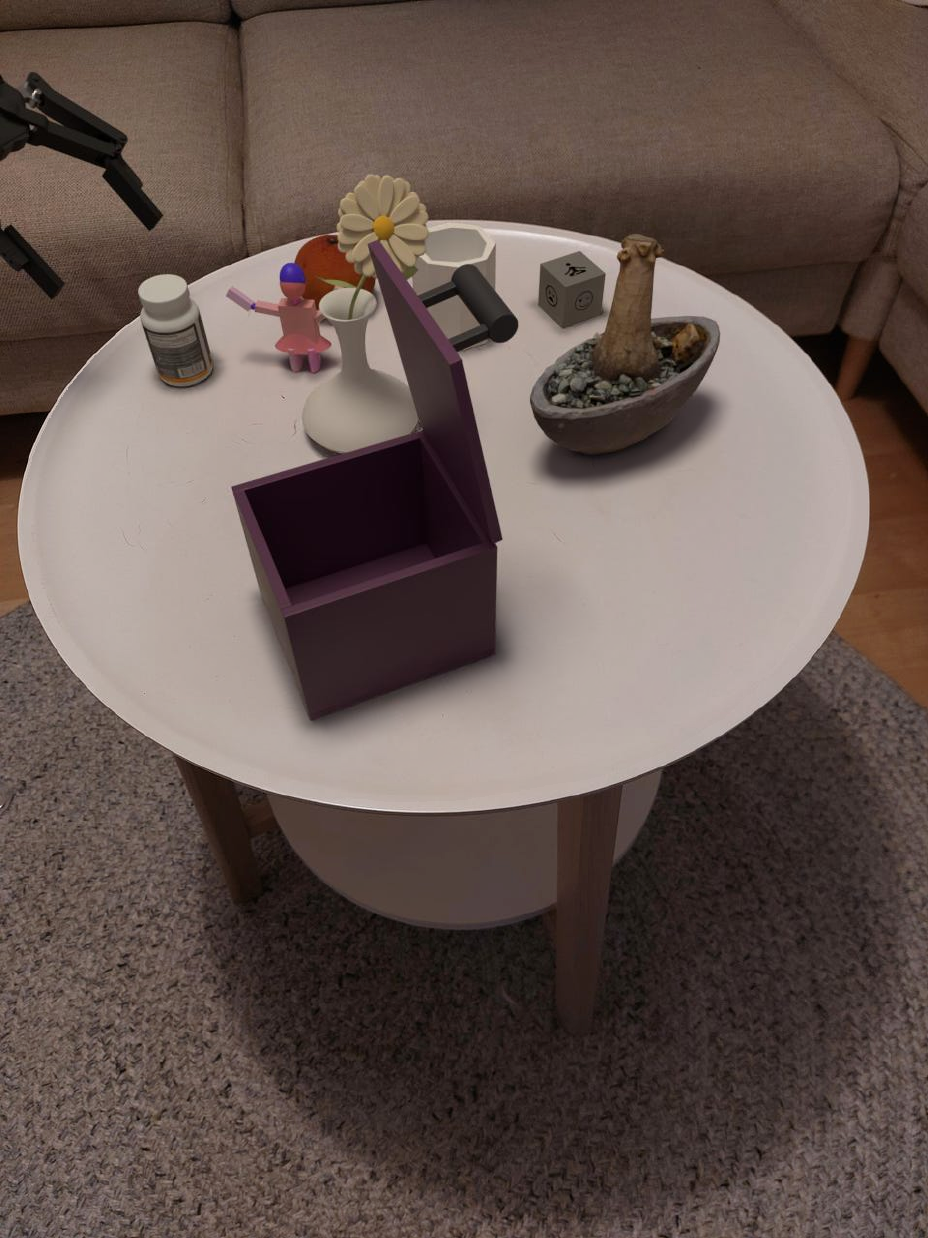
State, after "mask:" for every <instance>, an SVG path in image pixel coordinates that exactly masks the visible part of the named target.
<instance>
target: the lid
mask: <svg viewBox="0 0 928 1238" xmlns="http://www.w3.org/2000/svg"><path fill="white" fill-rule="evenodd" d="M368 248H369V252H370V255H371V258H372V262H373V265H374V269H375V272H376V275H377V278H376V280H377V282H378V285H379V289H380V292H381V296H382V299H383V303H384V306H385V310H386V312H387V316H388V320H389V323H390V326H391V329H392V333H393V336H394V340H395V344H396V347H397V350H398V354H399V358H400V360H401V364H402V367H403V371H404V374H405V377H406V381H407V386H408V387H409V388H410V392H411V395H412V399H413V402H414V405H415V409H416V412H417V416H418V423H419V427H420V428H421V430H423V431H424V433H425V434H426V436H427V438H428V439H429V441H430V443H431V444H432V446H433V447H434V449H435V451H436V452H437V454H438V456H439V457H440V459H441V461H442V462H443V464H444V465H445V467H446V469H447V470H448V472H449V474H450V475H451V477H452V479H453V480H454V482H455V483H456V485H457V487H458V488H459V490H460V492H461V493H462V495H463V497H464V498H465V500H466V501H467V503H468V505H469V506H470V508H471V510H472V511H473V513H474V515H475V516H476V518H477V519H478V521H479V523H480V524H481V526H482V528H483V529H484V531H485V533H486V534H487V536H488V537H489V539H490V541H491V542H492V544H496V543H497V544H498V543H499V542H501V541H503V534H502V531H501V530H502V529H501V525H500V521H499V516H498V512H497V507H496V503H495V499H494V495H493V491H492V487H491V482H490V477H489V472H488V468H487V462H486V459H485V455H484V454H485V453H484V451H483V450H484V449H483V446H482V442H481V438H480V433H479V432H480V431H479V427H478V424H477V419H476V415H475V409H474V406H473V402H472V398H471V394H470V393H471V392H470V389H469V384H468V381H467V376H466V372H465V371H466V370H465V367H464V363H463V358H462V357H461V356H460V354H459V352H462V351H461V350H463V351H465V350H464V349H466V348H468V347H470V346H473V345H475V344H477V343H480V342H482V341H484V340H486V339H488V340H489V339H490V340H491V341H492V342H493V343H495V344H504V343H507V342H508V341H510V340H511V339H513V337H514V336H515V335H516V333H517V332H518V329H519V319H518V318H517V317H516V315H515V314H514V312H513V311H512V310H511V309H510V307H508V305H507V304H506V302H505V301H504V300H503V298H502V297H501V296H500V295H499V294H498V293H497V291H496V289H495V290H494V289H493V287H492V286H491V285H490V284H489V282H488V281H487V280H486V278H485V277H484V276H483V275H482V273H481V272H480V271H479V270H478V268H477V267H476V266H474V265H472V264H465V265H462V266H460V267H459V268H457V269H456V270H455V272H454V273H453V275H452V278H451V281H450V282H448V283H446V284H443V285H441V286H439V287H436V288H434V289H432V290H429V291H427V292H425V293H422V294H420V295H417V294H416V293H415V291H414V290H413V286H412V285H411V284H410V283H409V281H408V280H406V278H405V277H404V275H403V274H402V272H401V271H400V270H399V268H398V267H397V265H396V264H395V262H394V261H393V260H392V258H391V257H390V255H389V254H388V252H387V251H386V250H385V248H384V247H383V245H382V244H381V242H380V241H379V240H376V241H373V242H371V243H368ZM456 295H458V296H459V297H460V299H461V300H462V301H463V303H464V304H465V305H466V307H467V308H468V310H469V311H470V312H471V314H472V315H473V316H474V318H475V319H476V320H477V322H478V323H479V324H480V325H479V326H477V327H475V328H473V329H470V330H468V331H466V332H463V333H461V334H459V335H456V336H454V337H452V338H450V339H447V337H446V336H445V334H444V333H443V331H442V330H441V328H440V327H439V326H438V324H437V323H436V321H435V320H434V318H433V317H432V316H431V314H430V313H429V311H428V310H427V308H428V307H431V306H433V305H435V304H438V303H440V302H442V301H445V300H447V299H449V298H452V297H454V296H456ZM466 350H467V349H466Z"/></svg>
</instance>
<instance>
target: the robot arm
mask: <svg viewBox="0 0 928 1238" xmlns="http://www.w3.org/2000/svg"><path fill="white" fill-rule="evenodd" d="M27 104H28V106H29V107H30V108H31V109H30V108H28V107H27ZM33 109H38V111H40V112H41V113H40V112H37V111H35V110H33ZM48 118H50V119H51V120H50V119H48ZM52 120H53V121H52ZM54 121H55V122H54ZM31 126H32V127H33V128H32V129H31ZM128 140H129V138H128V135H127V134H126V133H125V132H123V131H122V130H120V129H118V128H117V127H115V126H113V125H111V124H110V123H109V122H107V121H106V120H103V119H102V118H100V117H99V116H97V115H95V114H94V113H92V112H91V111H90V110H88V109H86V108H85V107H82V106H81V105H79V104H78V103H76V102H74V101H73V100H71V99H69V98H68V97H66V96H65V95H63V94H62V93H60V92H58V91H57V90H55V89H54V88H53V87H52V86H51V85H50V84H49V83H48V82H47V81H46V80H45V79H44V78H43V76H41V75H40V74H39V73H38V72H35V71H30V72H29V73H28V75H27V77H26V79H25V81H24V82H22V83H21V84H20V85H19V86H17V87H14V86H12V85H11V84H9V83H8V82H7V81H6V80H4V78H3V76H2V74H0V162H2V161H3V160H6V159H7V157H8V156H9V155H10V154H11V153H16V152H19V151H21V150H23V149H25V147H26V145H30V146H33V147H40V146H42V147H45V148H48V149H50V150H53V151H56V152H58V153H61V154H64V155H66V156H68V157H72V158H75V159H77V160H80V161H83V162H85V163H88V164H91V165H94V166H96V167H99V168H102V169H104V172H103V174H101V177H102V179H104V181H105V182H106V183H107V185H109V187H110V188H111V189H112V190H113V191H114V192H115V194H116V195H117V196H118V197H119V198H120V200H121V201H122V202H123V203H124V204H125V205H126V206H127V207H128V209H129V210H130V211H131V212H132V213H133V215H134V216H135V217H136V218H137V219H138V221H140V223H141V224H142V225H143V226H144V227H145V229H146V230H147V231H148V232H151V231H152V230H154V229H155V227H157V225H158V224H159V222H160V221H161V220H162V218H163V217H164V213H162V211H161V210H160V209H159V208H158V207H157V205H156V204H155V203H154V202H153V201H152V199H151V198H150V197H149V196H148V195H147V194H146V192H145V191H144V190H143V189H142V188H143V187H144V184H143V181H142V179H141V178H140V177H139V176H138V175H137V173H136V171H134V169H133V168H132V167H130V165H129V164H128V163H127V162H126V160H125V159H124V158H123V155H122V153H123V150H124V148H125V146H126V145H127V143H128ZM0 257H1V258H2V259H3V260H4V262H6V264H8V266H9V267H10V268H11V269H12V270H14V271H16V272H17V273H19V272H21V271H22V270H24V272H25V273H26V274H27V275H28V276H29V277H30V278H31V280H33V281H34V282H35V284H36V285H37V286H38V287H39V288H40V289H41V290H42V291H43V292H44V294H45V295H46V296H47V297H48V298H49V299H50V300H54V299H55V298H57V296H58V295H59V294H60V292H61V291H62V289H63V288H64V286H65V285H66V282H65V281H64V280H63V279H62V278H61V277H60V275H58V273H56V272H55V270H54V269H53V268H52V267H51V266H50V264H48V263H47V261H46V260H44V258H43V257H42V256H41V255H40V254H39V253H38V252H37V250H35V248H33V246H32V245H31V244H30V243H29V241H27V240H26V239H25V238H24V236H22V234H21V233H20V232H19V231H18V230H17V229H16V227H14V226H13V224H11V223H10V224H8V225H7V226H6V227H4V229H2V221H1V219H0Z"/></svg>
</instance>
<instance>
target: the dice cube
mask: <svg viewBox="0 0 928 1238" xmlns="http://www.w3.org/2000/svg"><path fill="white" fill-rule="evenodd" d="M606 276H607V273H606V272H605V271H604V270H602V268H601V267H599V266H598V265H597V264H596V263H594V262H593V261H592V260H591V259H590V258H589V257H588V256H586V255H585V254H584V253H583V252H582V251H581V250H577V251H575V252H572V253H569V254H566V255H562V256H560V257H557V258H554V259H551V260H547V261H545V262H542V263H540V264H539V281H538V284H539V285H538V298H537V299H538V300H537V301H538V302H537V305H538V306H539V307H540V309H542V310H543V312H545V313H546V314H547V315H548V316H549V318H551V319H552V320H553V321H554V322H555V323H556V324H558V326H559V327H560V328H562V329H565V328H567V327H570V326H573V325H576V324H579V323H582V322H584V321H587V320H591V319H593V318H596V317H598V316H602V313H603V312H602V311H603V302H604V294H605V285H606Z"/></svg>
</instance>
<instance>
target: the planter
mask: <svg viewBox="0 0 928 1238" xmlns="http://www.w3.org/2000/svg"><path fill="white" fill-rule="evenodd" d="M620 246H621V247H620V248H621V250H619V251H617V255H616V260H617V261H618V262H619V272H618V274H617V278H616V281H615V286H614V292H613V297H612V302H611V306H610V310H609V314H608V318H607V322H606V325H605V329H604V332H601V333H599V331H596V332H595V333H594V334H593V337H592V338H587V339H586V340H584V341H582V342H581V343H579V344H578V345H576V346H573V347H571V348H570V349H569V350H568V351H566V352H565V353H563V354H562V355H561V356H559V357H558V358H557V359H556V360H555V362H554V363H553V364H551V365H549V366H547V367H546V368H545V369H544V371H543V373H541V375H540V376H539V377H538V379H537V380H536V382H535V383H534V385H533V387H532V389H531V392H530V394H529V403H530V404H529V405H530V409H531V411H532V414H533V418H534V420H535V421H536V423H537V425H538V427H539V428H540V429H541V431H542V432H543V433H544V435H545V436H546V437H547V438H548V439H549V440H551V441H552V442H553V443H555V444H556V445H558V446H559V447H562V448H564V449H567V450H570V451H575V452H578V453H579V454H581V455H601V454H602V455H603V454H608V453H613V452H616V451H620V450H623V449H626V448H629V447H631V446H634V445H635V444H637V443H639V442H641V441H644V440H646V439H647V438H648V437H650V436H652V435H653V434H654V433H656V432H659V431H660V430H661V429H663V428H665V427H666V426H667V425H668V424H669V423H671V421H672V420H673V419H674V418H675V417H676V416H677V415H678V413H679V412H681V410H682V409H683V408H684V407H685V406H686V404H687V403H688V402H689V401H690V400H691V399H692V398H693V396H694V394H695V392H696V391H697V390H698V388H699V387H700V385H701V383H702V381H703V380H704V378H705V377H706V375H707V374H708V371H709V370H710V367H711V365H712V363H713V362H714V359H715V356H716V354H717V351H718V349H719V346H720V343H721V341H720V340H721V331H720V326H719V324H718V322H717V321H716V320H714V319H712V318H709V317H707V316H698V315H697V316H695V315H680V316H664V317H662V316H661V317H653V318H652V309H653V296H654V280H655V279H654V278H655V270H656V269H655V267H656V262H657V259H661V258H662V257H663V252H664V251H665V249H662V245H661V244H660V243H659V242H658V240H656V239H655V238H653V237H649V236H645V235H643V234H637V233H632V234H629V235H627V236H625V237H624V238H623V239H622V241H621V242H620Z"/></svg>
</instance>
